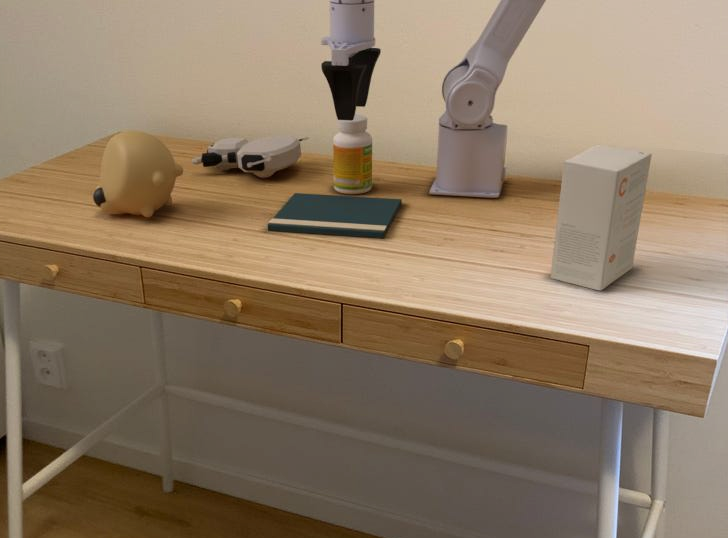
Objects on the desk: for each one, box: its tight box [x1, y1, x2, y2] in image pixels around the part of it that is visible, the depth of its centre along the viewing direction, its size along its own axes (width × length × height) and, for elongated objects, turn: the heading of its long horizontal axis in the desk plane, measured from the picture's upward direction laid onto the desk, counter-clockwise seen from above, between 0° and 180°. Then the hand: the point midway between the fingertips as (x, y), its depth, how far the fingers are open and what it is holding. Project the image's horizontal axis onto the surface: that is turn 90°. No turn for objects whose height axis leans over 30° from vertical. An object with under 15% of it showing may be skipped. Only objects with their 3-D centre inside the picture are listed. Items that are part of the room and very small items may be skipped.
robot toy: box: [191, 135, 310, 179], centre depth 138 cm, size 12×4×15 cm
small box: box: [550, 143, 653, 291], centre depth 100 cm, size 8×6×13 cm
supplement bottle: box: [332, 114, 373, 195], centre depth 128 cm, size 5×5×10 cm
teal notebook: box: [267, 192, 403, 239], centre depth 121 cm, size 15×13×1 cm
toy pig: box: [92, 130, 184, 218], centre depth 122 cm, size 10×12×11 cm
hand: (351, 112), depth 125 cm, fingers open, 7 cm apart
